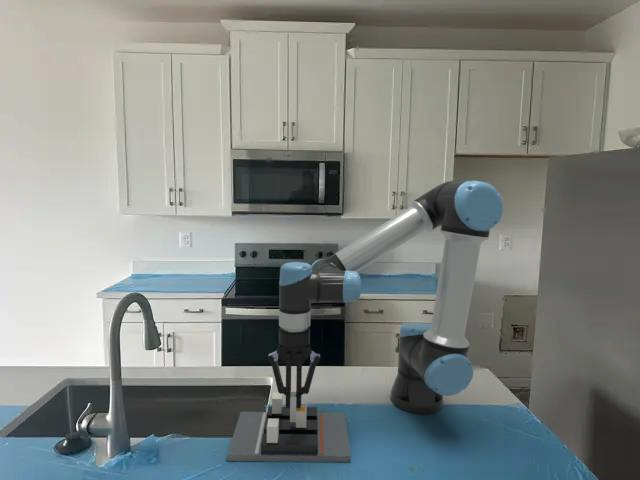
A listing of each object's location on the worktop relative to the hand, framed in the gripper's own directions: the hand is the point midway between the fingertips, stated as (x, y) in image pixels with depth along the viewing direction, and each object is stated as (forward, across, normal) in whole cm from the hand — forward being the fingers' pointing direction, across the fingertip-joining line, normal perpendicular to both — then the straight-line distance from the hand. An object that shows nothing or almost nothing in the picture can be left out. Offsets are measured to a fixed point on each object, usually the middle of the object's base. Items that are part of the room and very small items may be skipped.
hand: (293, 419), depth 110 cm
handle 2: (+1, +4, +7) cm, 8 cm away
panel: (+5, 0, 0) cm, 5 cm away
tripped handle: (+1, -2, 0) cm, 2 cm away
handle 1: (+1, +4, -6) cm, 8 cm away
